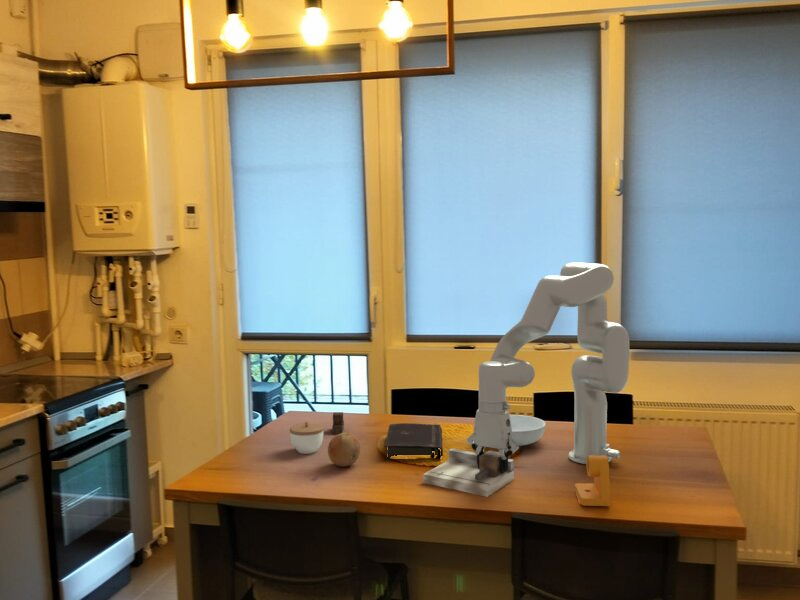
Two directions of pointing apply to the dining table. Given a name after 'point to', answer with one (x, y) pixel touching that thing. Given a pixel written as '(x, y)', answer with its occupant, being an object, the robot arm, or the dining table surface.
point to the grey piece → (466, 474)
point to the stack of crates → (338, 423)
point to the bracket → (595, 483)
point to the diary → (413, 439)
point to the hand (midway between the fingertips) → (492, 469)
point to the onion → (344, 449)
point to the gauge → (489, 464)
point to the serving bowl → (526, 429)
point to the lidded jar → (306, 437)
